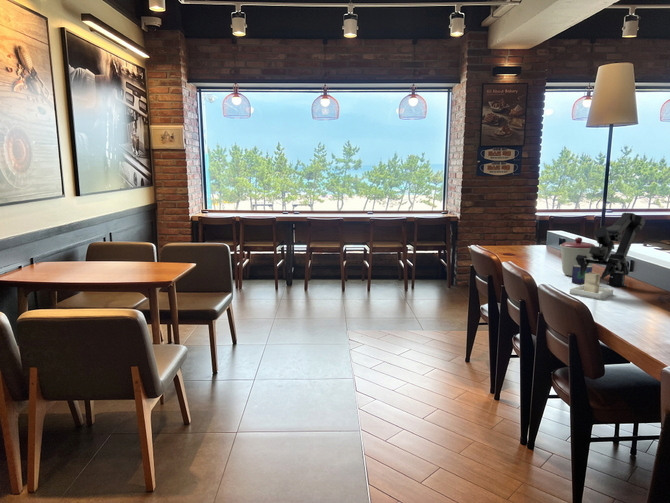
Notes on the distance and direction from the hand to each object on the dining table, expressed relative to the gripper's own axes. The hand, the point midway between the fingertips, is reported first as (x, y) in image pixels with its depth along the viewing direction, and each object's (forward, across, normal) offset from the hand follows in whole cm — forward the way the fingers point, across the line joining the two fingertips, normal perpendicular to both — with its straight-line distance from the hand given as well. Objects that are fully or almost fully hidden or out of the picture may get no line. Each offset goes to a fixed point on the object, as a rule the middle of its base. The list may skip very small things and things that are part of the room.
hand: (591, 276), depth 217 cm
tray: (+5, 0, +7) cm, 9 cm away
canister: (-20, -24, +32) cm, 45 cm away
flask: (-8, -13, +20) cm, 26 cm away
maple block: (+4, 0, +6) cm, 8 cm away
